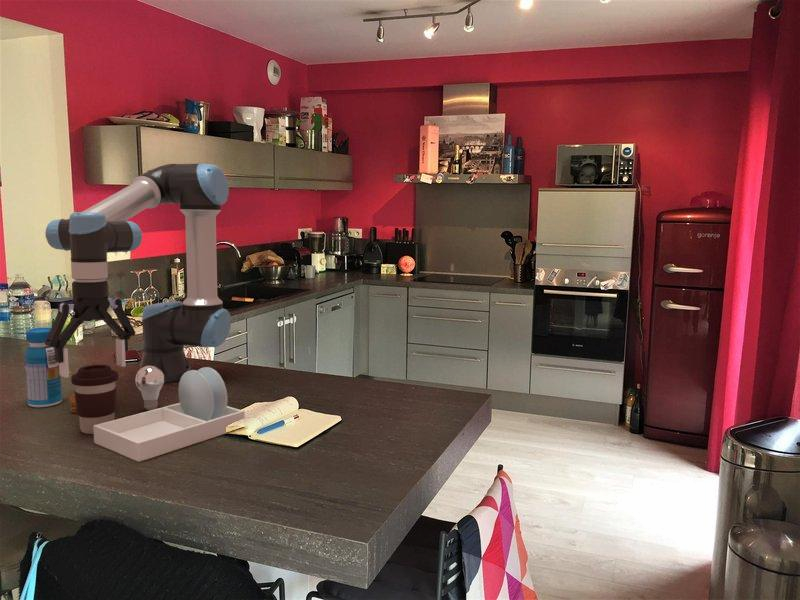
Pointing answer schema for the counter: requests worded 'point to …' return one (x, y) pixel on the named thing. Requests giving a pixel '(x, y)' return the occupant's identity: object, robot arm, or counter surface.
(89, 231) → the robot arm
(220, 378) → the plates
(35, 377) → the beverage bottle
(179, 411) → the white tray
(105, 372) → the coffee cup
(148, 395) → the light bulb
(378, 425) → the counter surface
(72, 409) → the burger
